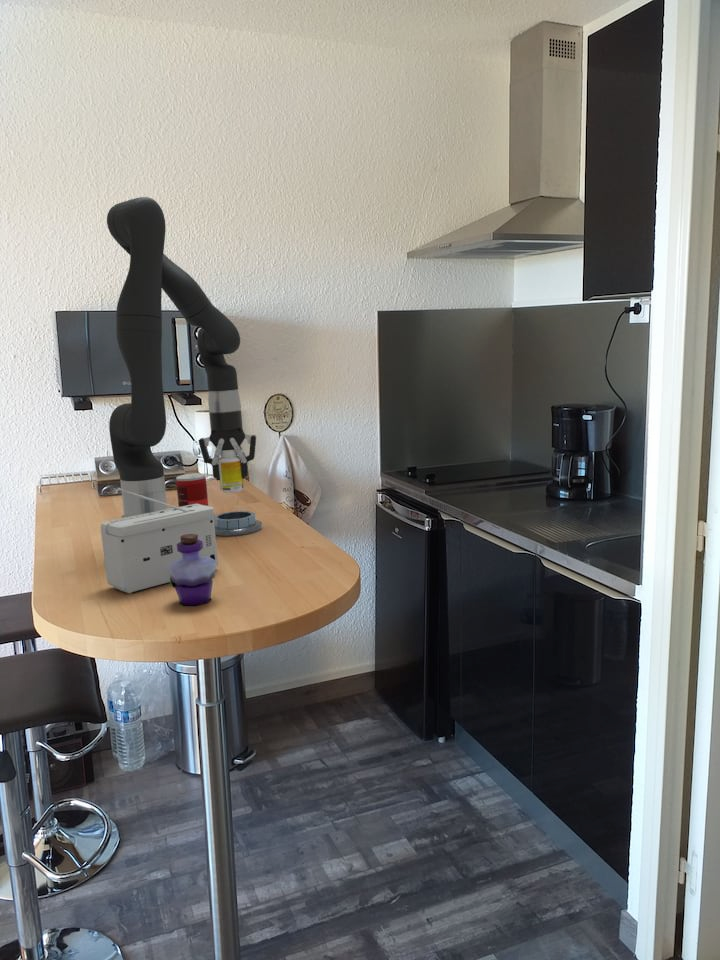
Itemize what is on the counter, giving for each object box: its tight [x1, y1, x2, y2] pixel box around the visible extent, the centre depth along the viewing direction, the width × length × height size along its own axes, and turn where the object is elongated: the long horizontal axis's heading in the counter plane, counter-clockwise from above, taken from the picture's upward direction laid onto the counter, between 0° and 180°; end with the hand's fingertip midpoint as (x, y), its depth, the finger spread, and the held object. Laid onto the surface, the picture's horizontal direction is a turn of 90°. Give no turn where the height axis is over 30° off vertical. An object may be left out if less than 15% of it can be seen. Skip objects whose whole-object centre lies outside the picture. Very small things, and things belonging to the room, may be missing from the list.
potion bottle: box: [166, 534, 217, 607], centre depth 132 cm, size 9×9×12 cm
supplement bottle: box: [218, 450, 244, 494], centre depth 182 cm, size 6×6×10 cm
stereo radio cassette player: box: [100, 487, 219, 595], centre depth 145 cm, size 21×8×20 cm, turn 131°
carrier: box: [214, 510, 263, 538], centre depth 185 cm, size 13×13×4 cm
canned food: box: [175, 473, 209, 507], centre depth 203 cm, size 8×8×11 cm
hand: (231, 478), depth 183 cm, fingers closed on supplement bottle, 5 cm apart
